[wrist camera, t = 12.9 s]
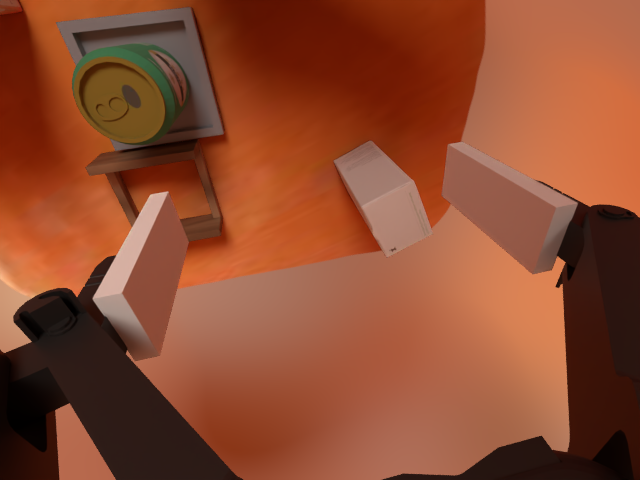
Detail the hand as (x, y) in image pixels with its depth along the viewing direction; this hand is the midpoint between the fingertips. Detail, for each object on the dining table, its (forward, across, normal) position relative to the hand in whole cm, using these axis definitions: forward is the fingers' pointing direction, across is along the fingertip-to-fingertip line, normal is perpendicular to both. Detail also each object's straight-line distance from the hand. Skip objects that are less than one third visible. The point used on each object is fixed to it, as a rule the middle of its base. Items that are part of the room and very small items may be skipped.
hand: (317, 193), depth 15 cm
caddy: (+31, -16, -10) cm, 36 cm away
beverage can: (+30, -13, +2) cm, 33 cm away
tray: (+31, -14, +2) cm, 34 cm away
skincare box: (+31, +11, -13) cm, 35 cm away
